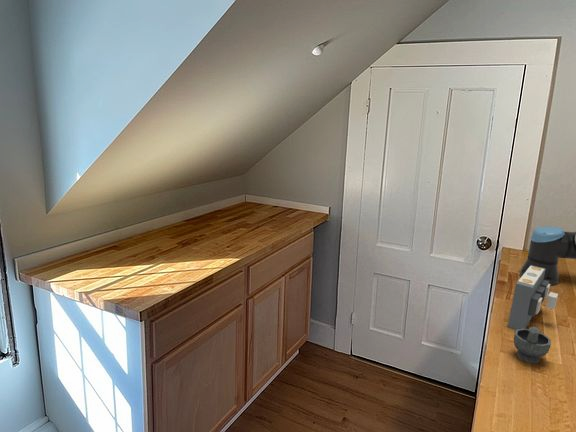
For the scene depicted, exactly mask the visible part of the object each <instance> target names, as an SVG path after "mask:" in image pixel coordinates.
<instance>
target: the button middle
mask: <svg viewBox="0 0 576 432" xmlns="http://www.w3.org/2000/svg"><path fill="white" fill-rule="evenodd" d="M558 298H559V293H556V292H552V291H549V293H548V296H547V298H546V304H545V308H546V309H549V310H552V311H553V310H555V308H556V306H557V301H558Z"/></svg>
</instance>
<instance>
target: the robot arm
mask: <svg viewBox="0 0 576 432" xmlns="http://www.w3.org/2000/svg"><path fill="white" fill-rule="evenodd" d="M559 259H567V260H570V259H571V260H576V231H565V230H564V229H563V228H561V227H558V226H549V225H548V226H538V227H536V228H534V229H533V231H532V234H531V237H530V241H529V247H528V253H527V257H526V260H525V262H524V263H523V264H522V267H521V268H520V270H519V274H520V275H519V276H520V278H521V277H522V275H523V274H524V273H525V272H526V270H527V269H528V268H529V267H530V265H532V266H536V267H541V268H545V269H546V270H545V275H544V279H543V280H547V281H549V284H550V286H557V285H558V284H559V280H560V276H559V275H560V274H559V270H558V263H559Z"/></svg>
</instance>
